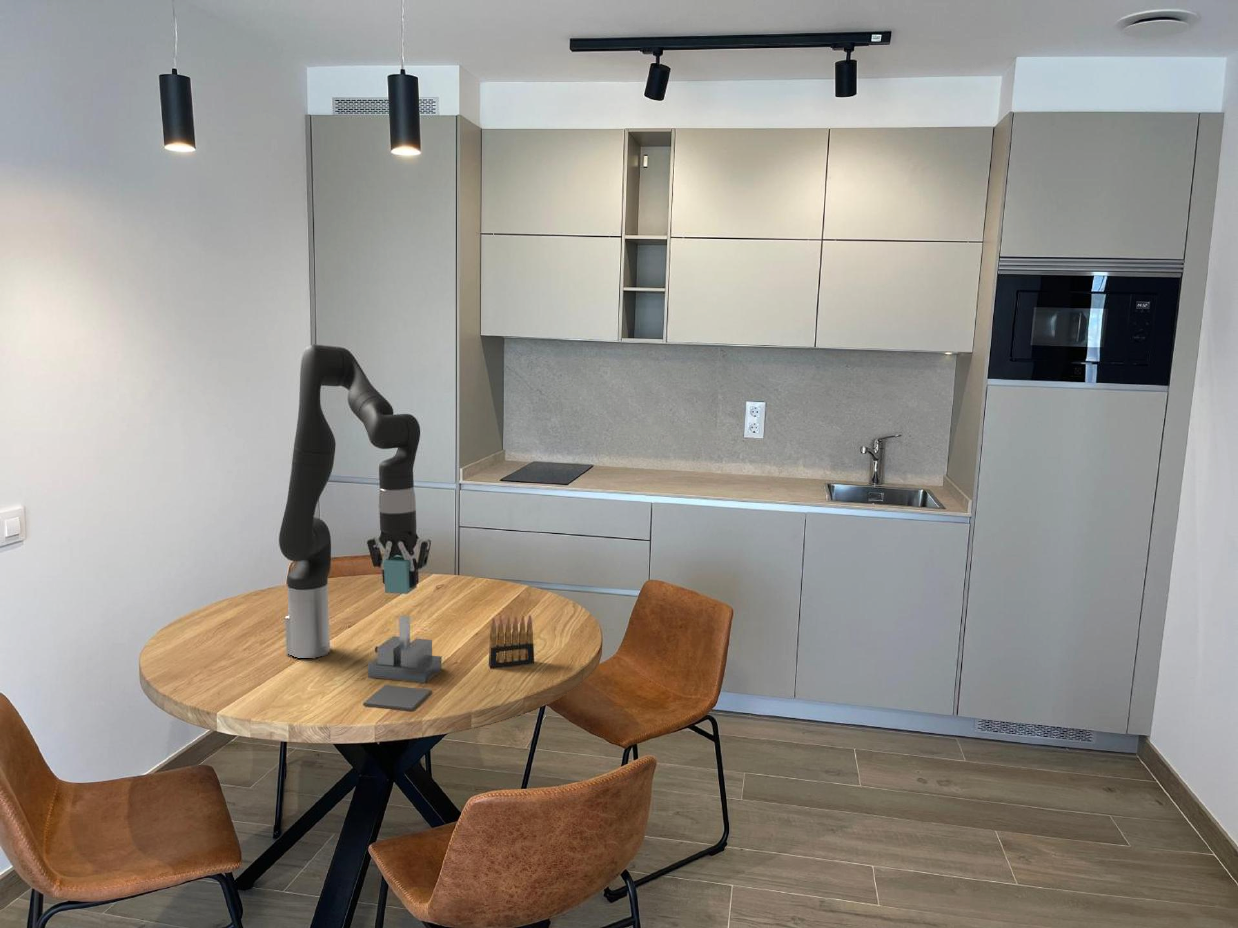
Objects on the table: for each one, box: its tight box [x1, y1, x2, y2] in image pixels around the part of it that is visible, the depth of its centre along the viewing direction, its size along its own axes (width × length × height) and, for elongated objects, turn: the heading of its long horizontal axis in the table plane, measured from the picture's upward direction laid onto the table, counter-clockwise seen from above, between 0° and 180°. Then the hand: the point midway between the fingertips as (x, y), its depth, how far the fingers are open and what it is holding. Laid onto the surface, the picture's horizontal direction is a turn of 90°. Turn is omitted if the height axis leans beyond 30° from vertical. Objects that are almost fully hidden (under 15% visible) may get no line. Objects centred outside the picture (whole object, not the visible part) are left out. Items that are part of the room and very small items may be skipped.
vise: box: [367, 614, 443, 684], centre depth 205 cm, size 14×9×14 cm, turn 78°
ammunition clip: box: [488, 614, 535, 669], centre depth 211 cm, size 11×2×12 cm, turn 110°
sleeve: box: [384, 555, 418, 595], centre depth 191 cm, size 5×5×7 cm
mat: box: [362, 684, 432, 712], centre depth 191 cm, size 11×10×1 cm
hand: (400, 586), depth 191 cm, fingers closed on sleeve, 5 cm apart
